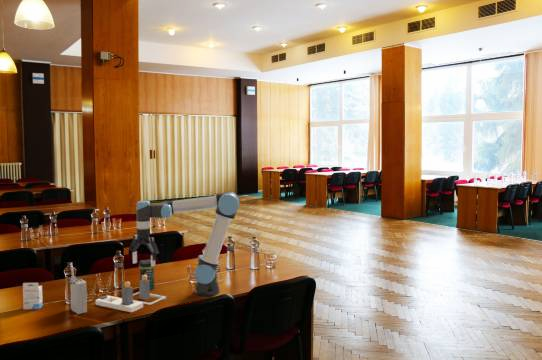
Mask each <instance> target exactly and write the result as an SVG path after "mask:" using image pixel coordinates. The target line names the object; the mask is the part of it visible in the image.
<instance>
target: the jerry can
mask: <svg viewBox="0 0 542 360" xmlns="http://www.w3.org/2000/svg"><path fill="white" fill-rule="evenodd" d="M69 267H70V271H71V278H70V280H69V283H70V285H69V287H70V310H71V311H72V312H73V313H76V316H79V315H80V314H85V313H88V301H87V299H88V297H87V296H88V294H87V293H88V292H87V291H88V290H87V287H88V286H87V281H86V280H83V279H82V278H79V279H78V278H77V277H76V276H75V274H74V267H73V263H72V262H70V263H69Z"/></svg>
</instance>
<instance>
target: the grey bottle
mask: <svg viewBox="0 0 542 360" xmlns="http://www.w3.org/2000/svg"><path fill="white" fill-rule="evenodd" d="M138 281H139V280H138ZM138 289H139V291H138V292H140V295H139V300H143V301H146V300H148V299H150V298H151V297H150V294H151V293H150V292H151V290H150V280H147V275H142V280H141V281H139V282H138Z"/></svg>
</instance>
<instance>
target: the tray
mask: <svg viewBox="0 0 542 360" xmlns="http://www.w3.org/2000/svg"><path fill="white" fill-rule="evenodd" d="M136 295H139V296H140V292H139V291H138V292H134V293H133V297H134V296H136ZM150 298H156V300H154V301H151V302H145V301H141V300H136V299H133V301H138V302H143V305H148V306H151V305H153V304H155V303H157V302H159V301H162V300H166V299H167V296H166V295H159V294H154V293H150Z"/></svg>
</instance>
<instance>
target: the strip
mask: <svg viewBox="0 0 542 360" xmlns="http://www.w3.org/2000/svg"><path fill="white" fill-rule="evenodd" d="M94 301H95V305H96V306H100V307H104V308H109V309H114V310H119V311H124V312H129V313H134V312H136V311H138V310H140V309H143V308H144V304H143V302H144V301H142V302H138V301H139V300H137V301H133V304H130V305H128V306H127V305H123V304H122V297H117V296H112V295H103V296H100V298H97V299H95V300H94Z"/></svg>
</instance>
